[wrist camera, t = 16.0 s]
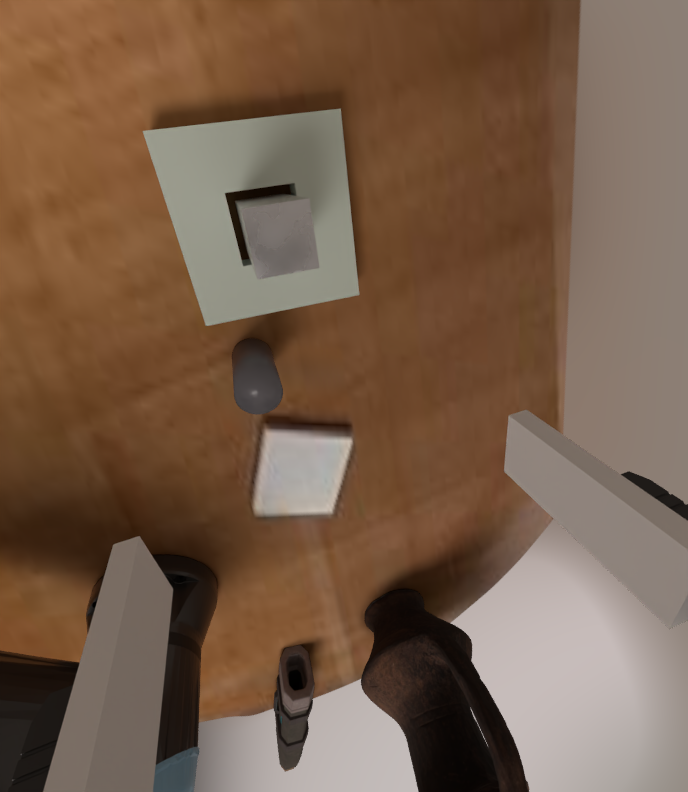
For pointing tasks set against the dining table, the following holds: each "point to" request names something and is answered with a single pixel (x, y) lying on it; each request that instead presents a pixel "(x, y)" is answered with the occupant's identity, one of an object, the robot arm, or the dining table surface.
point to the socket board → (249, 169)
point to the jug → (438, 700)
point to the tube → (293, 704)
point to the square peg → (278, 234)
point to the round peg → (255, 377)
